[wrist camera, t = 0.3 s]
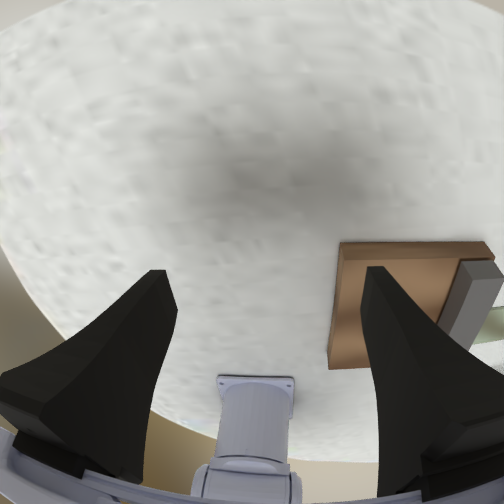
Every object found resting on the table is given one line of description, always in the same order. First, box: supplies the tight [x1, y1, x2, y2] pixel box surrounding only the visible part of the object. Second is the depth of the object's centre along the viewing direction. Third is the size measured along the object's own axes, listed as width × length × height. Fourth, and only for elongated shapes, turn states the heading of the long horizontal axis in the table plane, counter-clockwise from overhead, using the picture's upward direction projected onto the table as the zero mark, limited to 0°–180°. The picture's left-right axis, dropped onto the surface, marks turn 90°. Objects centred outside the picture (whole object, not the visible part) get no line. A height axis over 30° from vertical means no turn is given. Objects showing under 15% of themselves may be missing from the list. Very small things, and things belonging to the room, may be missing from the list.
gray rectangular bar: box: [437, 260, 504, 351], centre depth 20 cm, size 12×3×2 cm, turn 5°
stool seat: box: [327, 242, 504, 370], centre depth 23 cm, size 12×22×2 cm, turn 95°
